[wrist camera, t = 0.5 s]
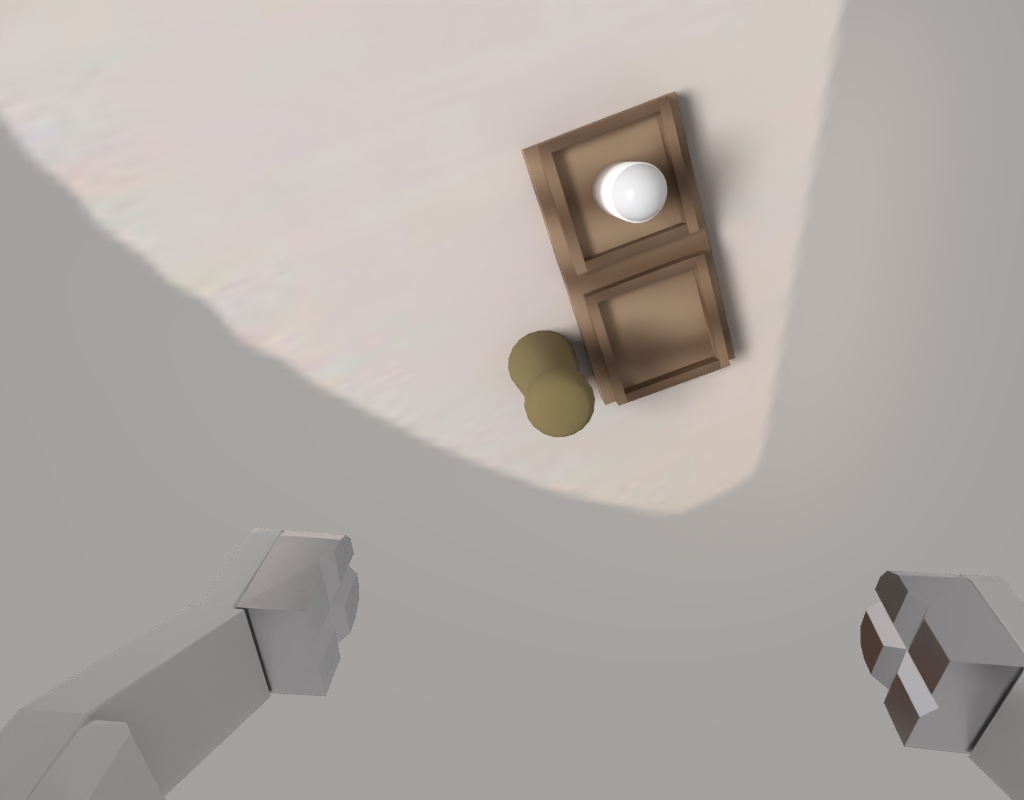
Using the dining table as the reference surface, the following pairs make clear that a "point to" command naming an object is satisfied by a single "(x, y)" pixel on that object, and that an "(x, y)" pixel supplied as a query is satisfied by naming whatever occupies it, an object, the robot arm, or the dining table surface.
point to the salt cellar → (630, 190)
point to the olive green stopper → (551, 384)
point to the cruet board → (633, 255)
